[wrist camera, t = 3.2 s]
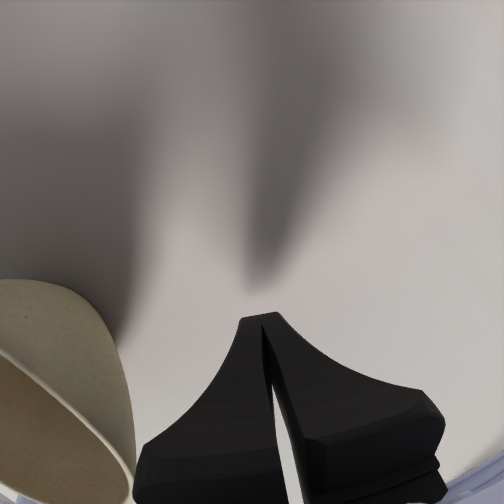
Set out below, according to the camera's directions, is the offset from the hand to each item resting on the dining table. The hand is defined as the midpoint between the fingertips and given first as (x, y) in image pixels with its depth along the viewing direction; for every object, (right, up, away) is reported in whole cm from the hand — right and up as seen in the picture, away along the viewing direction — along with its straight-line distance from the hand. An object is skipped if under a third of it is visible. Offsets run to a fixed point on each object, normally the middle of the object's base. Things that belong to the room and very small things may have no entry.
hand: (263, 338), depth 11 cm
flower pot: (-9, -1, +2) cm, 10 cm away
